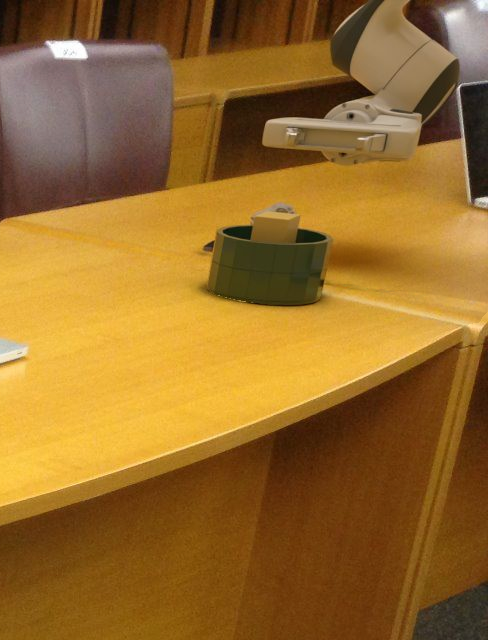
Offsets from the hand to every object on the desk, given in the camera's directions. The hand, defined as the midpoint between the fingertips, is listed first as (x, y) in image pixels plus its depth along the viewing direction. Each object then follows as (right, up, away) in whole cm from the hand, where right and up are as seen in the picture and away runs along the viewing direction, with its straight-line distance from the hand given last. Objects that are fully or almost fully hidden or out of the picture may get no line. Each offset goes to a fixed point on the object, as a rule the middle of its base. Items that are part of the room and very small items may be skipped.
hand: (325, 142), depth 211 cm
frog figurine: (+5, -7, +29) cm, 30 cm away
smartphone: (+1, -9, +23) cm, 25 cm away
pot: (-9, -21, 0) cm, 23 cm away
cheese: (-9, -21, 0) cm, 22 cm away
